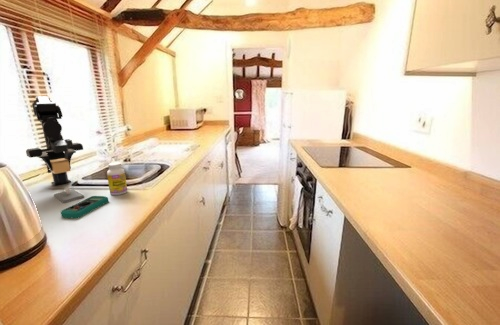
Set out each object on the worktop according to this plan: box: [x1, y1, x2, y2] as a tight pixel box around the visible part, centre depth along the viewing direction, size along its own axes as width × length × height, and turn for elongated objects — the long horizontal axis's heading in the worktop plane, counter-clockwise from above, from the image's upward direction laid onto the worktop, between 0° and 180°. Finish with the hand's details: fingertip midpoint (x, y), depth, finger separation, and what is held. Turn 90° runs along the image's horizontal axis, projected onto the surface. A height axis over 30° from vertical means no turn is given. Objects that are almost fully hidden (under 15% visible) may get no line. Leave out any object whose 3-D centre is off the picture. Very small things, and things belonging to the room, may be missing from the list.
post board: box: [53, 186, 85, 204], centre depth 105 cm, size 12×7×4 cm, turn 52°
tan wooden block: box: [50, 158, 71, 174], centre depth 110 cm, size 6×6×5 cm
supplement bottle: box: [106, 161, 128, 196], centre depth 107 cm, size 7×7×13 cm
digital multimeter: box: [60, 195, 110, 219], centre depth 93 cm, size 7×15×3 cm, turn 168°
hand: (60, 169), depth 110 cm, fingers closed on tan wooden block, 6 cm apart
